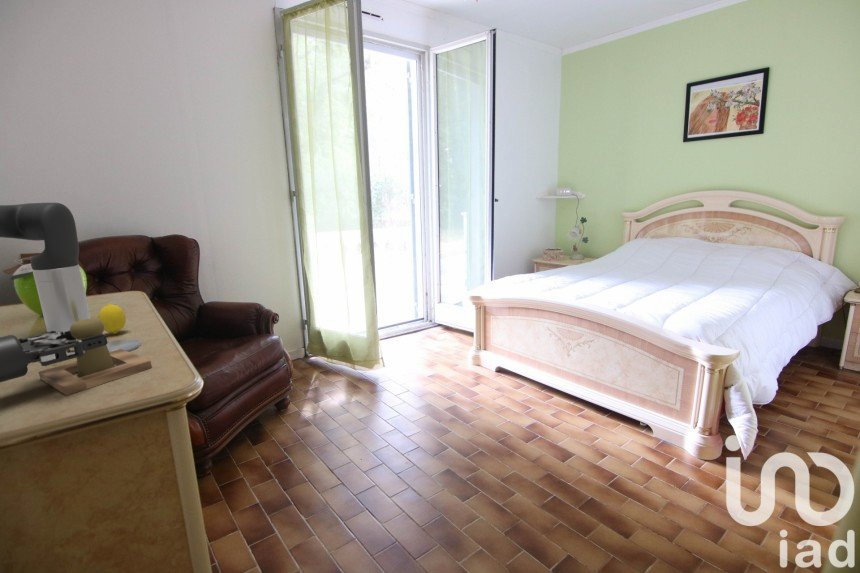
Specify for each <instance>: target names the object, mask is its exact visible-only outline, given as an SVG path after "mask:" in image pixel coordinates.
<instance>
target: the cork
mask: <svg viewBox="0 0 860 573" xmlns="http://www.w3.org/2000/svg"><path fill="white" fill-rule="evenodd" d="M104 331H105V330H104V324H103V322H102V321H101V320H99V319H98V318H91V319H84V320H80V321H77V322H75V323H73V324H72V325H71V327H70V333H71V335H72V336H73V337H74V338H75V339H76V340H77V339H83V338H87V337H91V336H95V335H99V334H104ZM76 361H77V370H78V373H77V377H78V378H80V377H83V376H87V375H90V374H93V373H96V372H100V371H103V370H106V369H109V368H113V367H116V366H115V364H114V363H113V361H112V358H111V356H110V353H109V350H108V348H107V345H105V346H101V347H97V348H94V349H90V350H86V351H85V352H84V356H82V357H77V358H76Z"/></svg>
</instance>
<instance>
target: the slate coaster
mask: <svg viewBox="0 0 860 573" xmlns="http://www.w3.org/2000/svg"><path fill="white" fill-rule="evenodd" d="M141 344H142V343H141V340H140V339H137V338H126V339H119V340H118V339H117V340H112V341H107V348H108V350H109V352H110V351H114V350H117V349H122V350H125V351H127V352H131V351H134V350H136V349H138V348H139V347H140V346H142V345H141Z"/></svg>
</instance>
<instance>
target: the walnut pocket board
mask: <svg viewBox="0 0 860 573" xmlns="http://www.w3.org/2000/svg"><path fill="white" fill-rule="evenodd" d="M109 353H110V356H111V358H112V361H113V363H115V364H114V365H116V364H117V365H116V366H115V367H113V368H109V369H106V370H103V371H100V372H96V373H93V374H90V375H87V376H83V377H80V378H78V375H75V374H76V373H75V372H78V370H77V360H76V361H72V362H71V361H70V362H68V363H65V364H60V365H57V366H54V367H51V368H46V369H43V370H40V371H38V374H39V375H38V376H39V379H40V380H41V379H42V380H41V381H43V382H44V381H45V383H46V384H47V385H50V386H51V387H52V388H54V389H56V390H57V391H58V392H60V393H62V394H64V396H70V395H73V394H76V393H79V392H82V391H85V390H88V389H92V388H94V387H96V386H100V385H103V384H106V383H109V382H113V381H115V380H119V379H121V378H125V377H127V376H130V375H134V374H136V373H140V372H143V371H145V370H150V369H151V368H153V367H152V361H151V360H150V359H147V358H145V357H142V356H140V355H137V354H134V353H133V352H131V351H129V352H127V351H125V350H122V349H117V350H114V351H110V352H109ZM139 371H140V372H139ZM72 373H75V374H72ZM133 373H134V374H133Z"/></svg>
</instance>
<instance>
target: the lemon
mask: <svg viewBox="0 0 860 573" xmlns="http://www.w3.org/2000/svg"><path fill="white" fill-rule="evenodd" d="M97 319H99V320H101V321H102V322H103V324H104V331H105V332H108V333H112V334H113V335H117V334H118V332H119V331H121V330H123V329H124V327H125V325H126V321H127V317H126V315H125V312H124V310H123V309H122V307H120V306H119V305H116V304H112V303H107V304H106V305H105V306H103V307H102V308H101V309H100V311H99V312H98V318H97Z"/></svg>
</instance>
